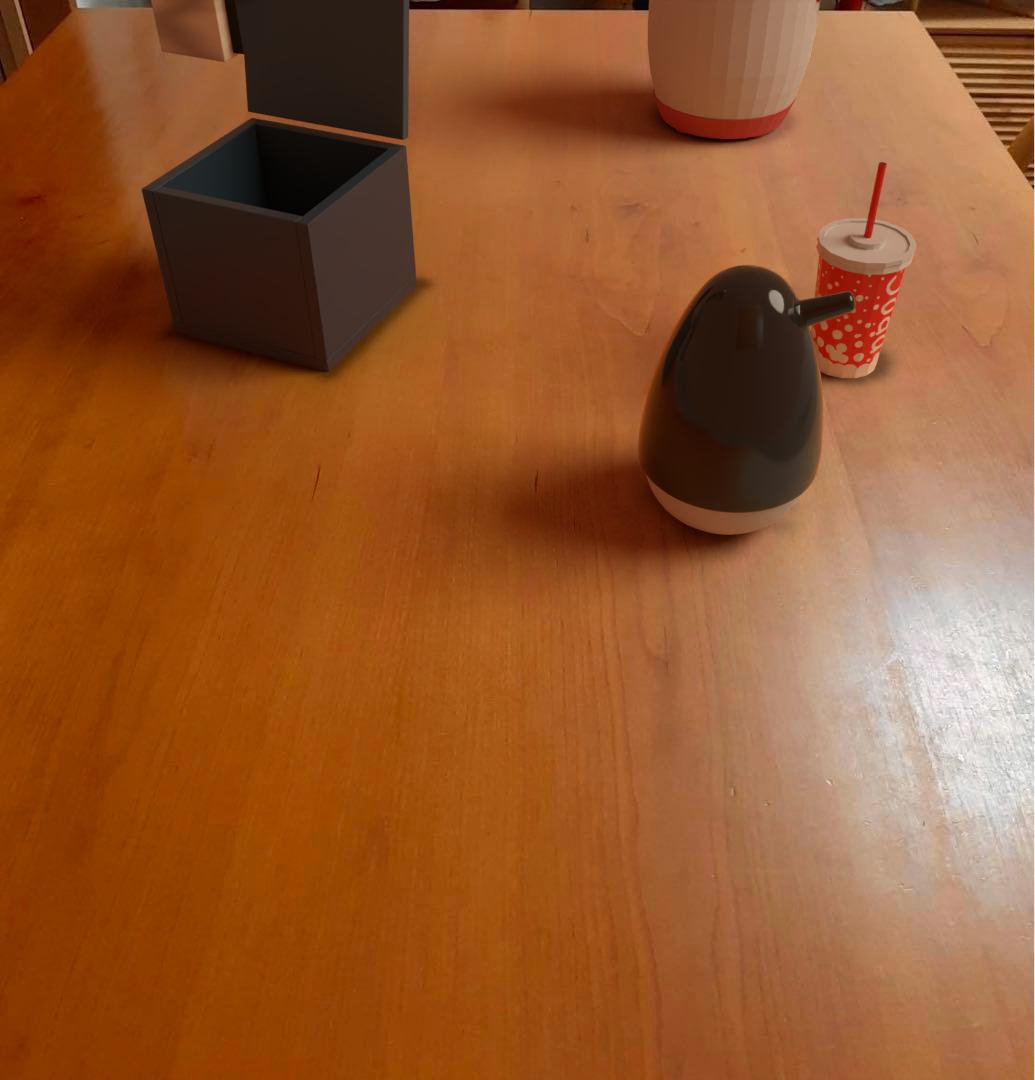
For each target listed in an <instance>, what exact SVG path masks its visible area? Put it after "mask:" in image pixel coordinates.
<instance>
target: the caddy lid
mask: <svg viewBox="0 0 1035 1080" xmlns="http://www.w3.org/2000/svg"><path fill="white" fill-rule="evenodd" d="M264 2H265V8H266V15H267V22H268V29H269V35H270V40H268V41H267V42H265V43H263V44H261V45H260V46H258V47H256V48H254V49H253V50H251V51H249V52H247V53H246V54H244V55H243V57H244V58H243V60H244V73H245V74H244V76H245V85H246V86H245V87H246V105H247V112H248V113H251V114H257V115H263V116H269V117H273V118H280V119H286V120H291V121H297V122H302V123H307V124H312V125H313V124H314V125H318V126H325V127H328V128H335V129H338V130H339V129H340V130H346V131H352V132H357V133H362V134H368V135H373V136H379V137H384V138H389V139H395V140H401V141H404V140H407V139H408V138H409V104H410V103H409V100H410V99H409V95H410V93H409V92H410V90H409V89H410V83H409V82H410V79H409V78H410V0H264Z"/></svg>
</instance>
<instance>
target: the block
mask: <svg viewBox="0 0 1035 1080" xmlns="http://www.w3.org/2000/svg"><path fill="white" fill-rule="evenodd" d="M150 3H151V8H152V12H153V17H154V22H155V26H156V31H157V36H158V40H159V45H160V46H159V47H160V50H161V52H163V53H169V54H173V55H180V56H185V57H186V56H187V57H192V58H197V59H203V60H209V61H216V62H221V63H226V62H228V61H230V60H232V59H233V58H235V57H237V56H239V55H240V54H237V53H233V48H232V42H231V37H230V31H229V25H228V19H227V13H226V7H225V1H224V0H150Z"/></svg>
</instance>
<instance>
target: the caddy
mask: <svg viewBox="0 0 1035 1080" xmlns="http://www.w3.org/2000/svg"><path fill="white" fill-rule="evenodd" d="M407 153H408V152H407V146H406V145H404V144H399V143H392V142H388V141H381V140H376V139H371V138H365V137H360V136H355V135H349V134H345V133H337V132H333V131H327V130H322V129H317V128H311V127H306V126H300V125H295V124H289V123H283V122H278V121H274V120H267V119H261V118H257V117H251V118H249V119H247V120H246V121H245V122H243V123H241V124H239V125H238V126H236V127H235V128H233V129H232V130H230V131H229V132H228V133H226V134H224V135H223V136H221V137H220V138H218V139H217V140H215V141H213V142H212V143H210V144H208V145H207V146H206V147H204V148H202V149H201V150H199V151H198V152H196V153H195V154H193V155H192V156H190V157H189V158H187V159H186V160H184V161H182V162H181V163H179V164H178V165H176V166H174V167H173V168H172V169H170V170H169V171H167V172H166V173H164V174H162V175H161V176H158V178H156V179H154V180H152V181H151V182H150V183H148V184H146V185H145V186H143V187H142V188H141V193H142V197H143V202H144V206H145V210H146V214H147V218H148V223H149V227H150V232H151V235H152V239H153V243H154V247H155V248H154V249H155V251H156V256H157V262H158V264H159V268H160V272H161V278H162V281H163V285H164V289H165V295H166V297H167V302H168V306H169V310H170V315H171V319H172V324H173V327H174V331H175V333H177V334H181V335H184V336H188V337H192V338H196V339H199V340H204V341H208V342H212V343H215V344H219V345H223V346H225V347H231V348H234V349H239V350H241V351H242V350H243V351H246V352H250V353H254V354H257V355H261V356H265V357H269V358H273V359H276V360H281V361H285V362H287V363H292V364H295V365H300V366H304V367H307V368H311V369H315V370H320V371H323V372H327V373H330V371H331V370H333V368H334V367H336V366H337V364H339V362H341V361H342V360H343V358H345V357H346V356H347V355H348V354H349V353H350V352H351V351H352V350H353V349H354V348H355V347H356V346H357V345H358V344H359V343H360V342H361V341H362V340H363V339H364V338H365V337H366V336H367V335H368V334H369V333H370V332H371V331H372V330H373V329H374V328H375V327H376V326H378V324H379V323H380V322H382V320H384V318H385V317H387V316H388V315H389V314H390V313H391V312H392V311H393V310H394V308H395V307H396V306H398V305H399V304H400V302H401V301H402V300H404V299H405V298H406V297H407V296H408V295H409V294H410V293H411V292H412V291H413V290H414V289H415V288H416V287H417V285H418V282H417V270H416V269H417V268H416V257H415V255H416V254H415V244H414V243H415V242H414V241H415V240H414V229H413V218H412V217H413V216H412V205H411V204H412V203H411V192H410V179H409V165H408V154H407Z"/></svg>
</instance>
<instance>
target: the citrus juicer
mask: <svg viewBox="0 0 1035 1080" xmlns="http://www.w3.org/2000/svg"><path fill="white" fill-rule="evenodd" d="M821 1H822V0H648V13H647V54H648V62H649V63H648V65H649V72H650V76H651V82H652V88H653V96H654V100H655V104H656V105H657V108H658V111H659V114H660V117H661V118H662V120H663V122H665V123H666V124H667V125H669V126H670V127H672V128H673V129H675V130H676V131H677V132H678V133H680V134H684V135H692V136H696V137H701V138H709V139H719V140H734V139H735V140H738V139H747V138H761V137H764V136H765V135H766V134H769V133H770V132H772V131H773V132H774V130H776V129H777V128H779V127H780V126H781V125H782V124H783V122H784V120H785V119H786V117H787V115H788V114H789V113H790V110H791V109H792V107H793V105H794V103H795V102H796V98H797V97H796V96H797V94H798V91H799V89H800V87H801V86H802V83H803V81H804V78H805V74H806V72H807V69H808V66H809V62H810V60H811V55H812V51H813V45H814V41H815V36H816V31H817V27H818V20H819V19H818V18H819V15H820V8H821V7H820V6H821Z"/></svg>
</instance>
